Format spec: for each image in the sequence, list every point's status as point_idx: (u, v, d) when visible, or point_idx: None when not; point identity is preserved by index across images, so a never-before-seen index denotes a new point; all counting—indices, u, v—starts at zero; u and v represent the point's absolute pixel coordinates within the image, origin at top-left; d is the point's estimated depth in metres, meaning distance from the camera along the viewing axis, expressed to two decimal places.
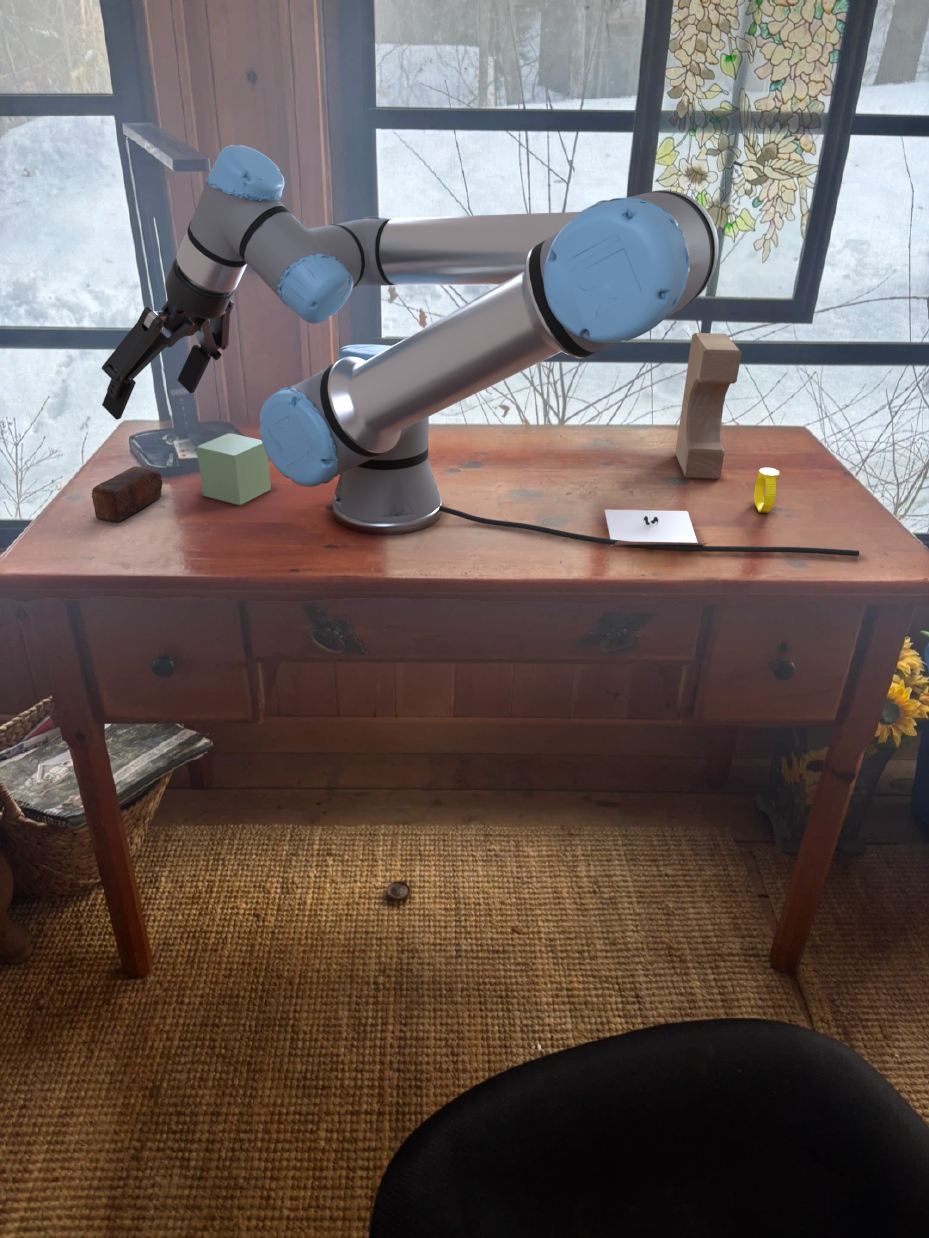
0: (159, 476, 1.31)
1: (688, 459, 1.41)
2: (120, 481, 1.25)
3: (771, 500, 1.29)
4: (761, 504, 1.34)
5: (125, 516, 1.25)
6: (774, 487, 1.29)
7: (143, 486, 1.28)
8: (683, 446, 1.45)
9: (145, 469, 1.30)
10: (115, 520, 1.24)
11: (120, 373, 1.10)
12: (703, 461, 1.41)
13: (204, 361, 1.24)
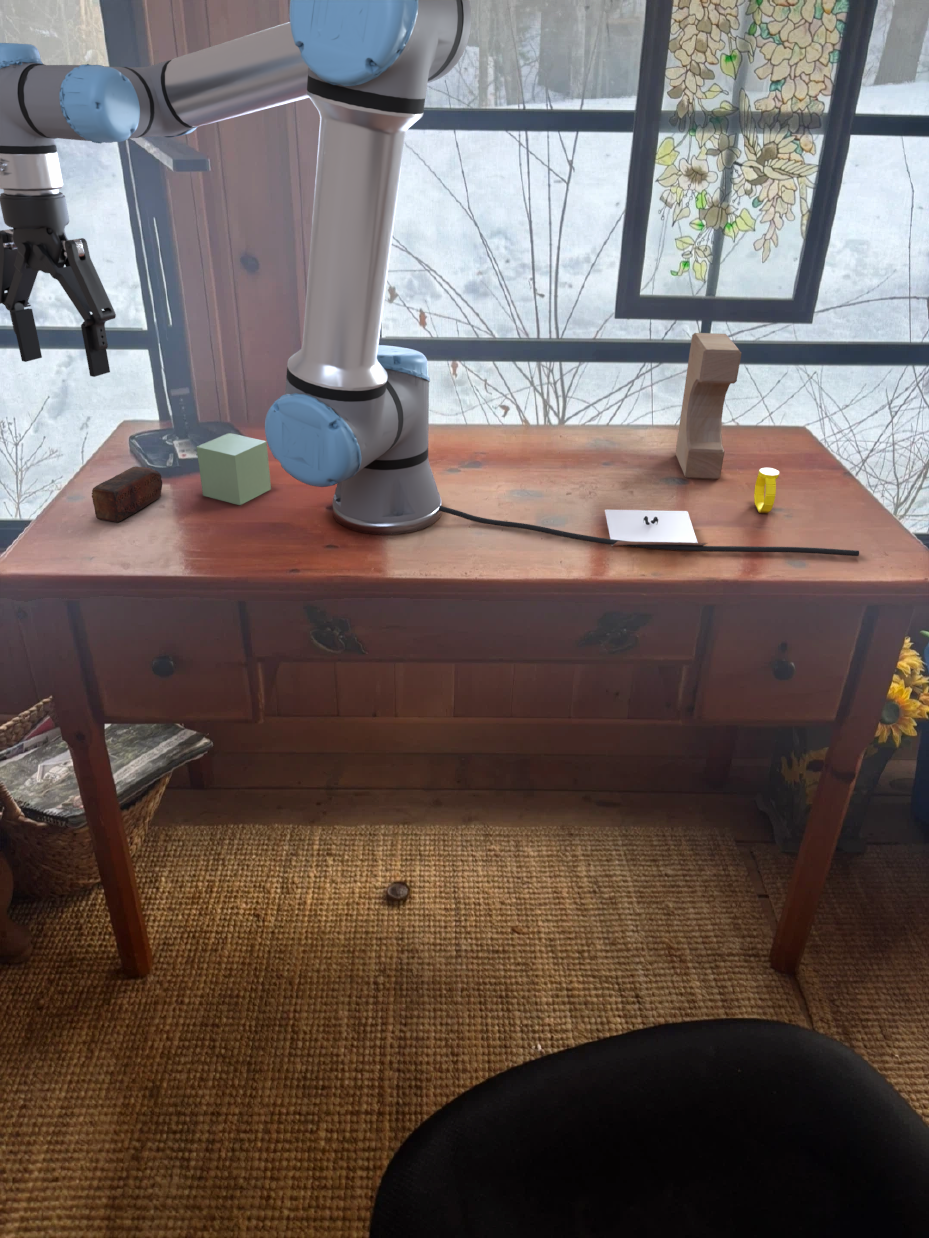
0: (159, 476, 1.31)
1: (688, 459, 1.41)
2: (120, 481, 1.25)
3: (771, 500, 1.29)
4: (761, 504, 1.34)
5: (125, 516, 1.25)
6: (774, 487, 1.29)
7: (143, 486, 1.28)
8: (683, 446, 1.45)
9: (145, 469, 1.30)
10: (115, 520, 1.24)
11: (111, 306, 1.15)
12: (703, 461, 1.41)
13: (31, 313, 1.23)
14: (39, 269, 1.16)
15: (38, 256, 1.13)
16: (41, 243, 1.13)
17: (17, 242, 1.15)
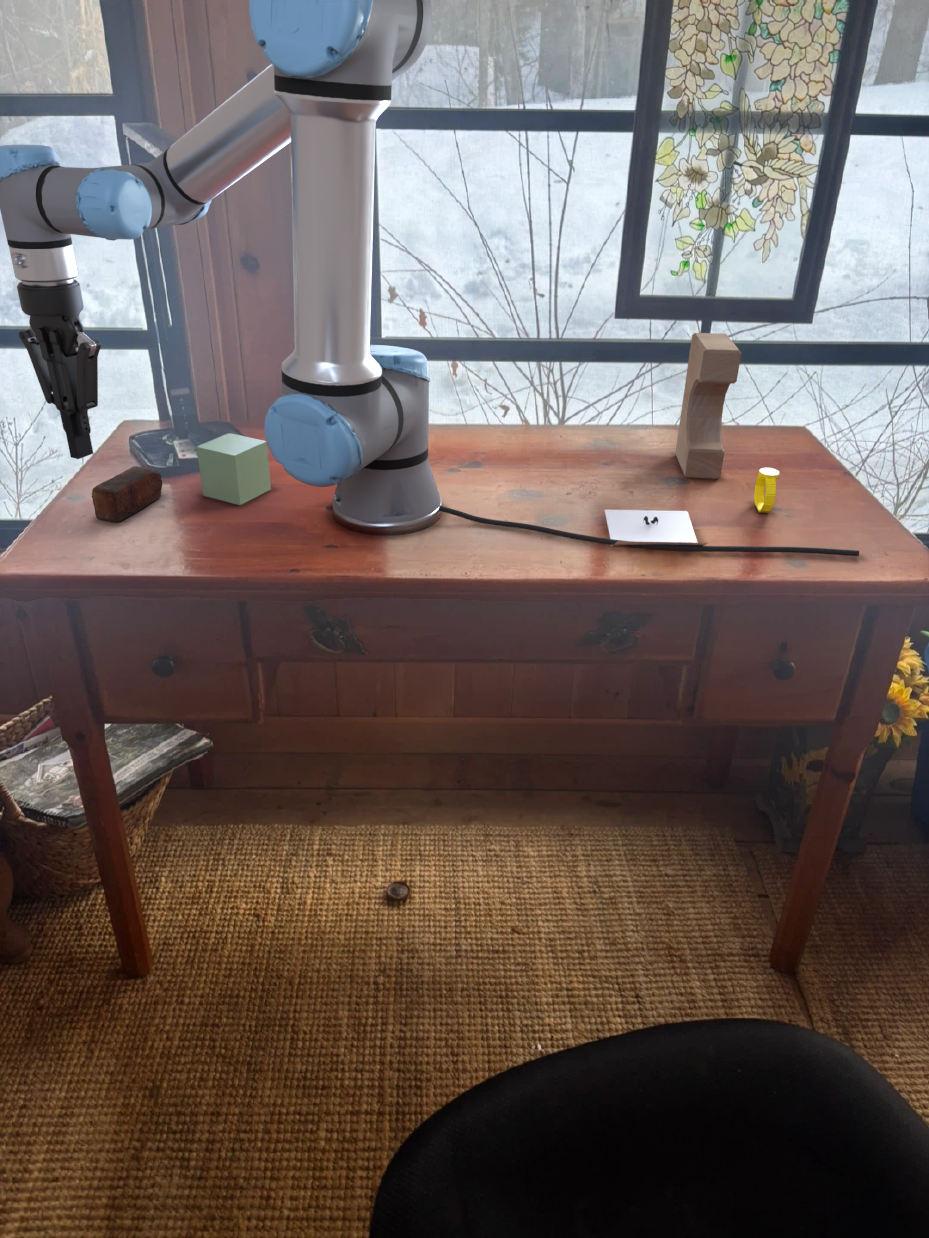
0: (159, 476, 1.31)
1: (688, 459, 1.41)
2: (120, 481, 1.25)
3: (771, 500, 1.29)
4: (761, 504, 1.34)
5: (125, 516, 1.25)
6: (774, 487, 1.29)
7: (143, 486, 1.28)
8: (683, 446, 1.45)
9: (145, 469, 1.30)
10: (115, 520, 1.24)
11: (97, 398, 1.24)
12: (703, 461, 1.41)
13: None
14: (55, 352, 1.21)
15: (51, 340, 1.19)
16: (57, 329, 1.19)
17: (34, 326, 1.21)
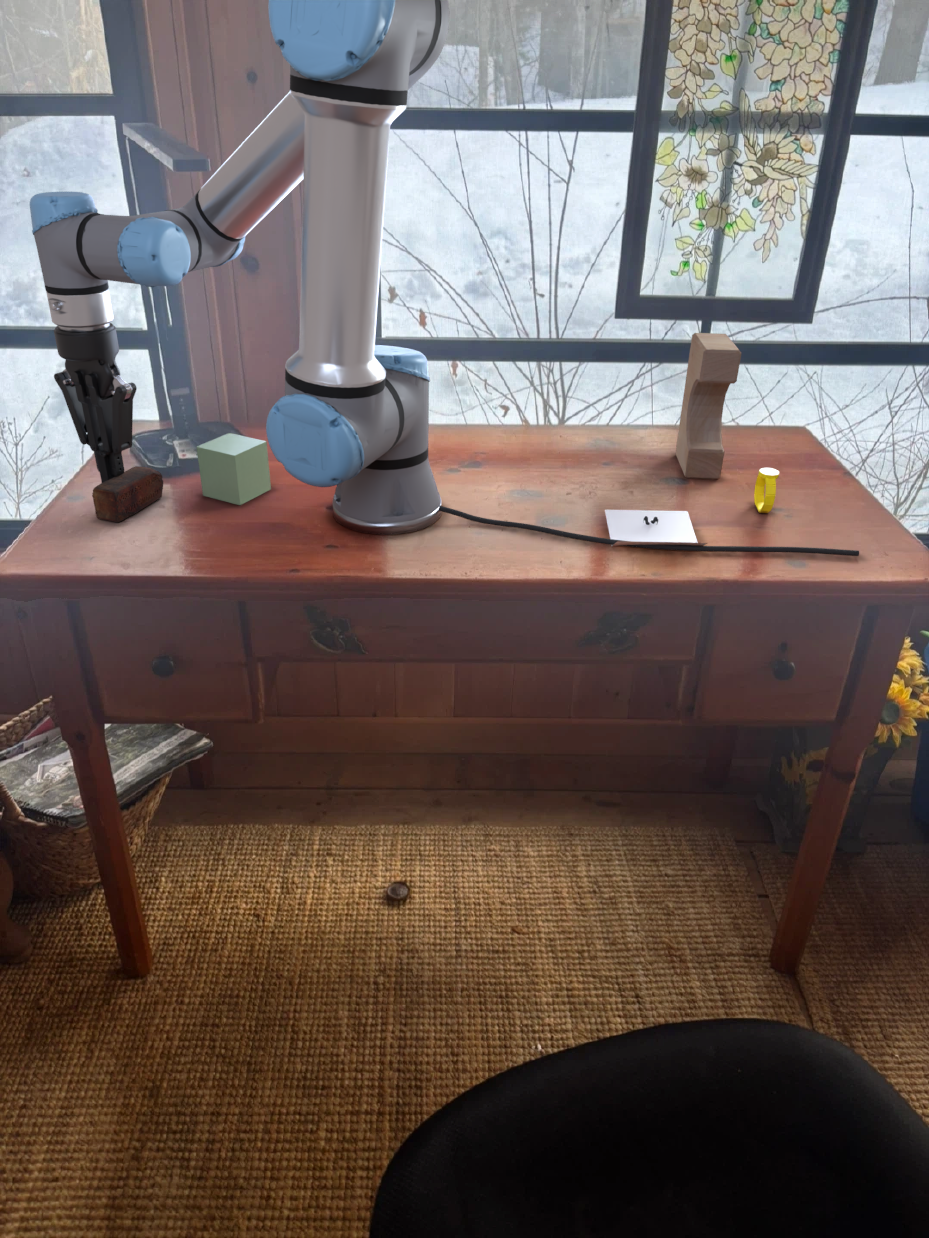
0: (160, 476, 1.31)
1: (688, 459, 1.41)
2: (121, 481, 1.25)
3: (771, 500, 1.29)
4: (761, 504, 1.34)
5: (125, 516, 1.25)
6: (774, 487, 1.29)
7: (144, 486, 1.28)
8: (683, 446, 1.45)
9: (146, 469, 1.30)
10: (115, 521, 1.24)
11: (131, 439, 1.25)
12: (703, 461, 1.41)
13: None
14: None
15: (87, 383, 1.19)
16: (93, 372, 1.19)
17: (70, 369, 1.21)
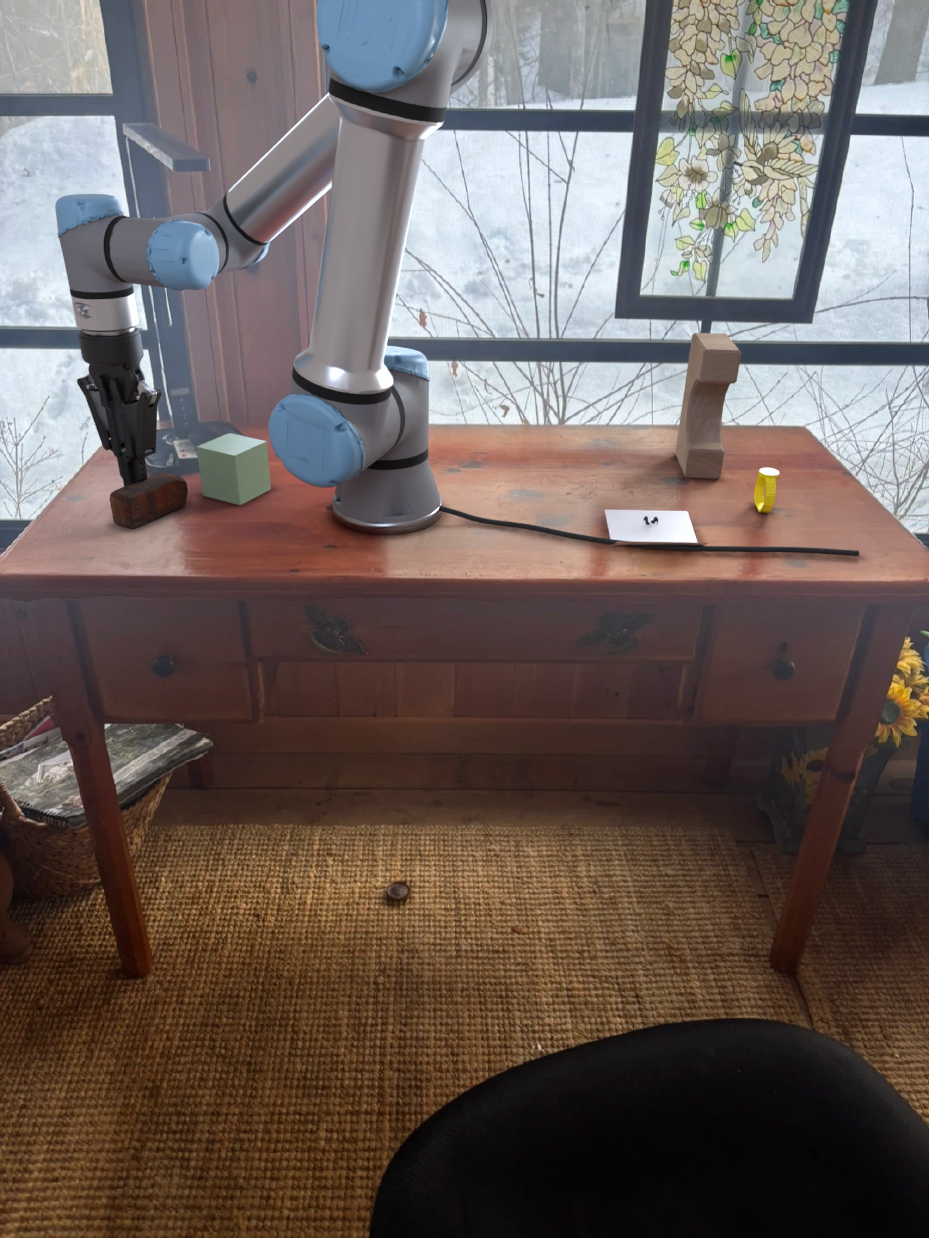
0: (184, 484, 1.29)
1: (688, 459, 1.41)
2: (141, 487, 1.24)
3: (771, 500, 1.29)
4: (761, 504, 1.34)
5: (141, 523, 1.23)
6: (774, 487, 1.29)
7: (164, 493, 1.26)
8: (683, 446, 1.45)
9: (170, 476, 1.28)
10: (129, 527, 1.23)
11: (155, 445, 1.23)
12: (703, 461, 1.41)
13: None
14: (114, 400, 1.20)
15: (112, 388, 1.18)
16: (117, 377, 1.17)
17: (94, 374, 1.19)
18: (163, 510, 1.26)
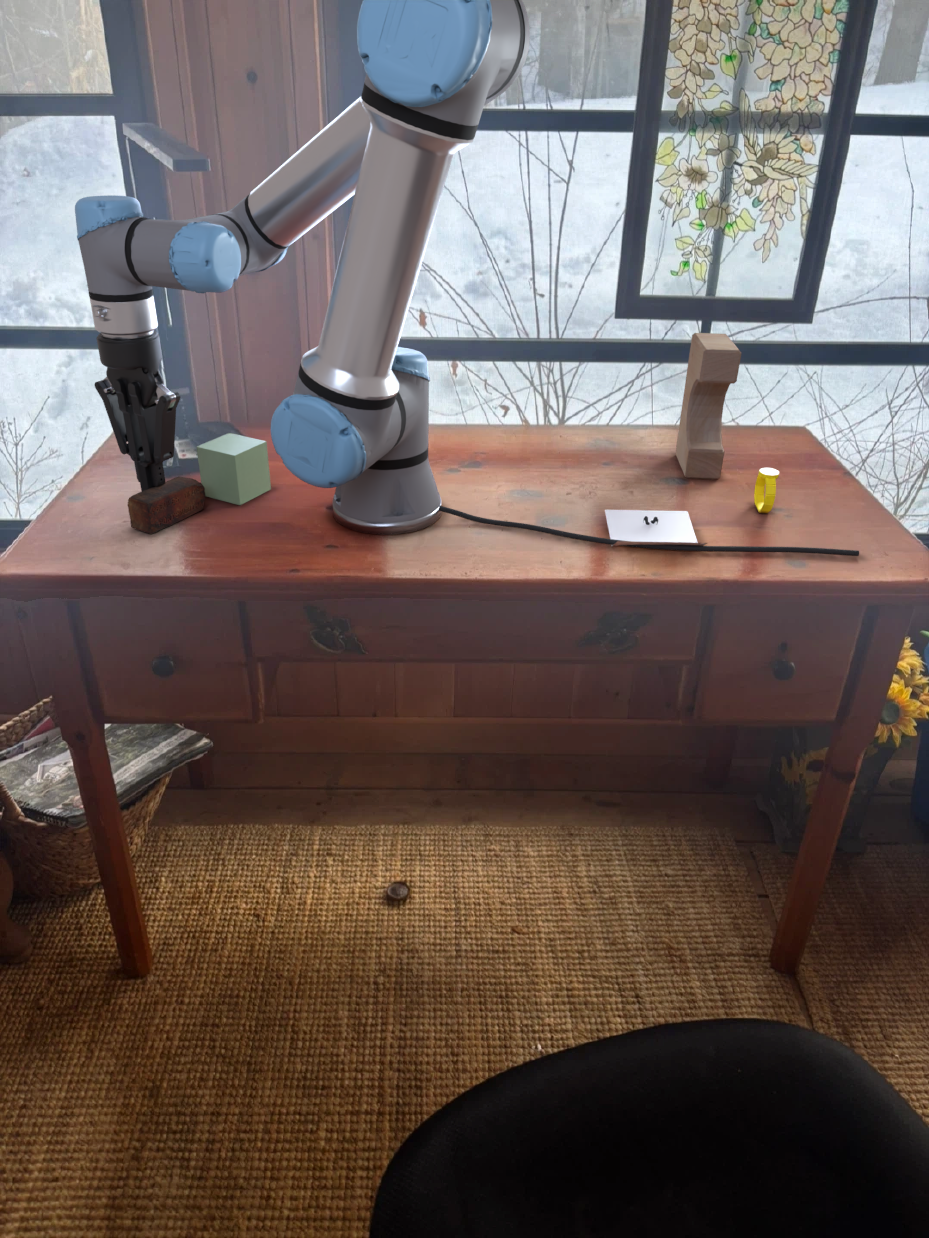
0: (202, 489, 1.27)
1: (688, 459, 1.41)
2: (159, 492, 1.22)
3: (771, 500, 1.29)
4: (761, 504, 1.34)
5: (159, 528, 1.22)
6: (774, 487, 1.29)
7: (182, 498, 1.24)
8: (683, 446, 1.45)
9: (188, 480, 1.26)
10: (148, 532, 1.21)
11: (173, 449, 1.21)
12: (703, 461, 1.41)
13: None
14: None
15: (130, 392, 1.16)
16: (136, 381, 1.16)
17: (112, 377, 1.18)
18: (181, 515, 1.25)
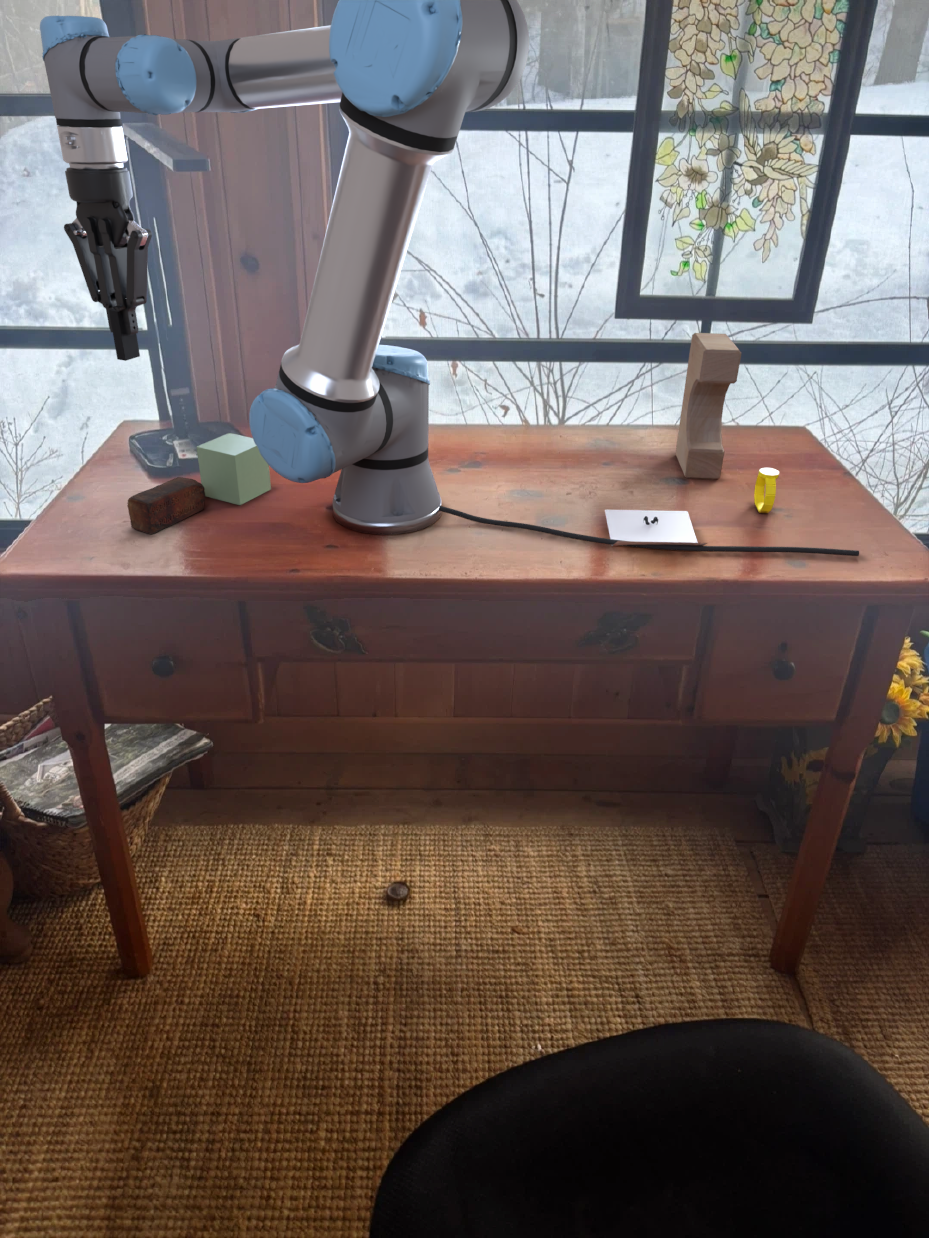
0: (202, 488, 1.27)
1: (688, 459, 1.41)
2: (158, 492, 1.22)
3: (771, 500, 1.29)
4: (761, 504, 1.34)
5: (159, 528, 1.22)
6: (774, 487, 1.29)
7: (182, 498, 1.24)
8: (683, 446, 1.45)
9: (188, 481, 1.26)
10: (148, 532, 1.21)
11: (146, 294, 1.20)
12: (703, 461, 1.41)
13: None
14: (103, 244, 1.17)
15: (101, 229, 1.15)
16: (106, 217, 1.14)
17: (81, 217, 1.16)
18: (181, 515, 1.25)
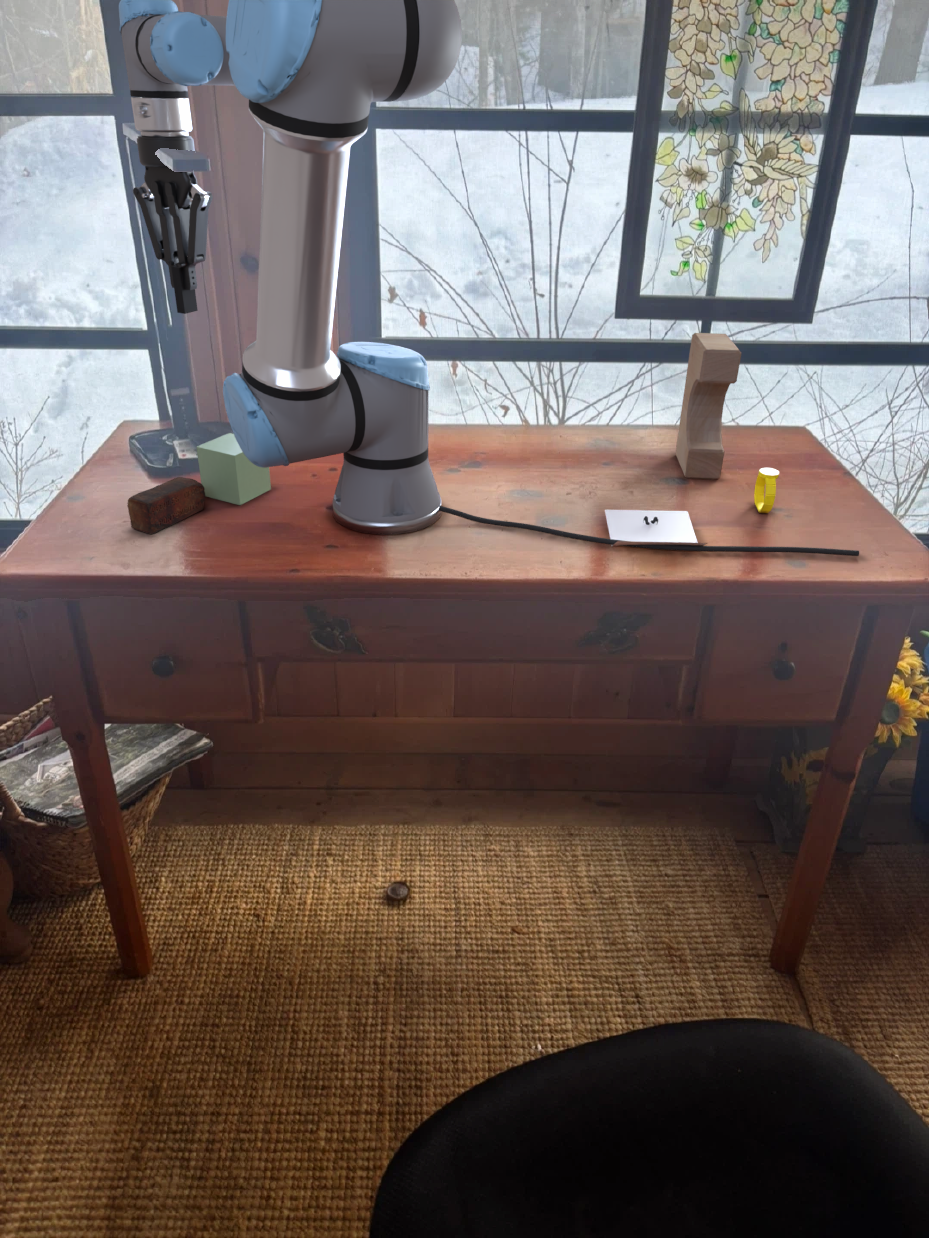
0: (202, 488, 1.27)
1: (688, 459, 1.41)
2: (158, 492, 1.22)
3: (771, 500, 1.29)
4: (761, 504, 1.34)
5: (159, 528, 1.22)
6: (774, 487, 1.29)
7: (182, 498, 1.24)
8: (683, 446, 1.45)
9: (188, 481, 1.26)
10: (148, 532, 1.21)
11: (205, 252, 1.32)
12: (703, 461, 1.41)
13: None
14: (168, 205, 1.29)
15: (167, 192, 1.27)
16: (172, 181, 1.26)
17: (149, 181, 1.28)
18: (181, 515, 1.25)
